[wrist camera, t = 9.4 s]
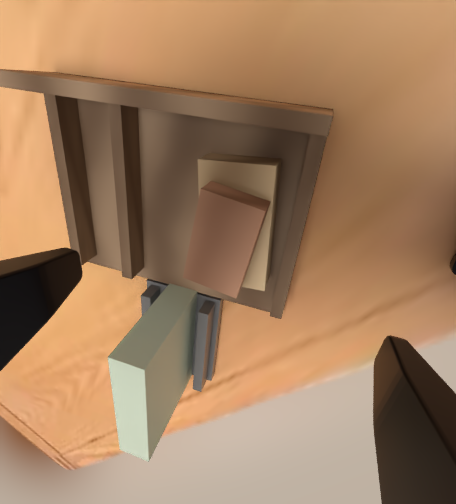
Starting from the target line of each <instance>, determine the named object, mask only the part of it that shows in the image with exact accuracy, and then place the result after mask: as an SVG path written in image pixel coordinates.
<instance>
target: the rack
mask: <svg viewBox="0 0 456 504" xmlns="http://www.w3.org/2000/svg"><path fill="white" fill-rule="evenodd" d="M0 87H5V88H12V89H19V90H25V91H32V92H39V93H44V98H45V104H46V110H47V115H48V121H49V127H50V132H51V138H52V144H53V149H54V155H55V161H56V167H57V172H58V178H59V184H60V189H61V195H62V201H63V206H64V212H65V218H66V223H67V229H68V235H69V241H70V246H71V249H73V250H76V251H77V252H78V253H79V255H80V260H81V265H83V264H84V263H86V262H90V263H94V264H97V265H101V266H105V267H108V268H112V269H116V270H119V271H122V277H126V278H130V279H133V278H134V277H135V276H136V275H137V276H141V277H144V278H148V279H152V280H155V281H159V282H162V283H166V284H173V285H177V286H181V287H184V288H188V289H191V290H195V291H197V292H199V293H202V294H206V295H209V296H213V297H217V298H220V299H224V300H227V301H231V302H235V303H238V304H242V305H246V306H249V307H253V308H256V309H260V310H264V311H267V312H271V313H270V316H272V317H275V318H279V319H281V318H282V314H283V310H284V306H285V302H286V298H287V294H288V290H289V286H290V282H291V278H292V274H293V270H294V266H295V262H296V258H297V254H298V250H299V246H300V242H301V238H302V234H303V230H304V226H305V222H306V218H307V214H308V210H309V206H310V203H311V199H312V195H313V191H314V187H315V183H316V179H317V175H318V171H319V167H320V163H321V159H322V155H323V151H324V147H325V143H326V139H327V136H328V134H329V130H330V126H331V122H332V118H333V109H327V108H319V107H312V106H304V105H297V104H289V103H282V102H274V101H266V100H259V99H251V98H244V97H236V96H229V95H221V94H214V93H206V92H199V91H191V90H184V89H176V88H169V87H161V86H154V85H146V84H139V83H131V82H124V81H116V80H109V79H101V78H94V77H86V76H79V75H71V74H63V73H56V72H40V71H23V70H5V69H0ZM209 153H218V154H231V155H243V156H256V157H269V158H281V159H282V160H281V170H280V180H279V190H278V200H277V210H276V220H275V230H274V240H273V250H272V260H271V270H270V276H269V279H268V282H267V285H266V288H265V291H261V290H256V289H251V288H245V287H241V289H240V292H239V294H238V296H237V298H233V297H231V296H228V295H226V294H223V293H221V292H218V291H216V290H213V289H211V288H208V287H206V286H203V285H201V284H198V283H196V282H193V281H190V280H188V279H185V278H183V274H184V269H185V264H186V259H187V254H188V249H189V244H190V239H191V234H192V229H193V224H194V220H195V215H196V210H197V205H198V200H199V188H198V159H199V158H201V157H203V156H205V155H207V154H209Z"/></svg>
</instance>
